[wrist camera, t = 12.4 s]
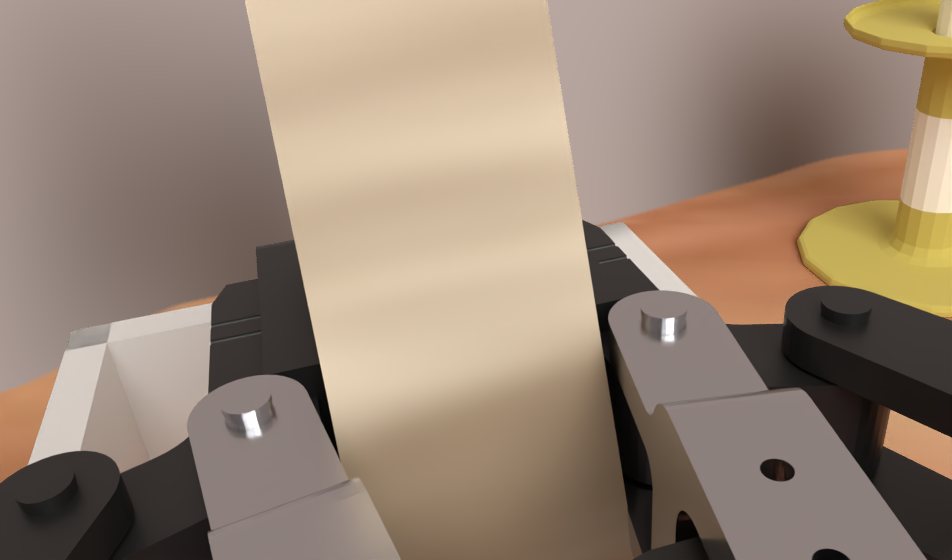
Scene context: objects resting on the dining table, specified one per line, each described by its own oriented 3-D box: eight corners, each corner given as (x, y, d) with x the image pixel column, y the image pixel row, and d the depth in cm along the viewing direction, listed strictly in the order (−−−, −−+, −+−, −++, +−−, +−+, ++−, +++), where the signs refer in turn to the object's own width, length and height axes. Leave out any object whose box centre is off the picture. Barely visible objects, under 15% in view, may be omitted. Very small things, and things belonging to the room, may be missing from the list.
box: (838, 621, 20) (867, 467, 18) (44, 861, 17) (-53, 714, 15) (622, 340, 32) (622, 221, 29) (119, 453, 28) (71, 330, 26)
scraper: (1032, 1057, 11) (893, -354, 9) (124, 1452, 9) (-383, -270, 7) (884, 882, 14) (748, -220, 12) (168, 1150, 12) (-177, -129, 10)
